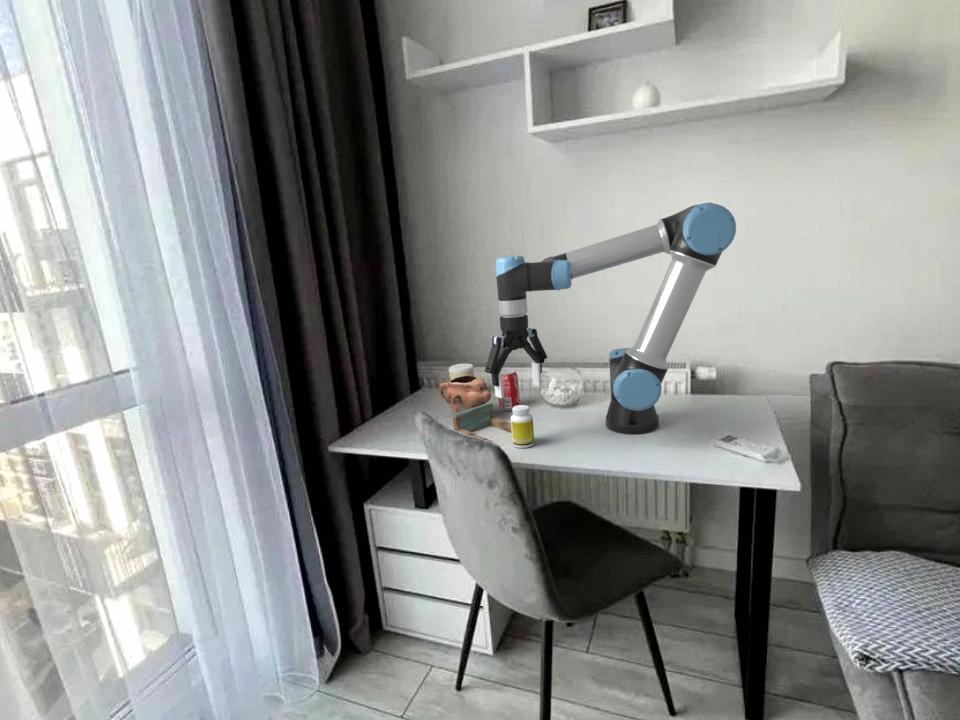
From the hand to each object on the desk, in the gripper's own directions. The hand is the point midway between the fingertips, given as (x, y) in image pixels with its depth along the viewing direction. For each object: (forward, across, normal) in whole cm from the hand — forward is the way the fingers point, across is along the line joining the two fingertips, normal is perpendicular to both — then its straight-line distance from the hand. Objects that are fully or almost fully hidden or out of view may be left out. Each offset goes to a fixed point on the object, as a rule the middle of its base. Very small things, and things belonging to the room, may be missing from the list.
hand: (518, 391), depth 152 cm
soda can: (+16, -18, -28) cm, 37 cm away
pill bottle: (+16, 0, 0) cm, 16 cm away
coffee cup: (+16, -15, -51) cm, 55 cm away
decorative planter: (+16, -2, -31) cm, 35 cm away
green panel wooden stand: (+16, +2, -13) cm, 20 cm away
